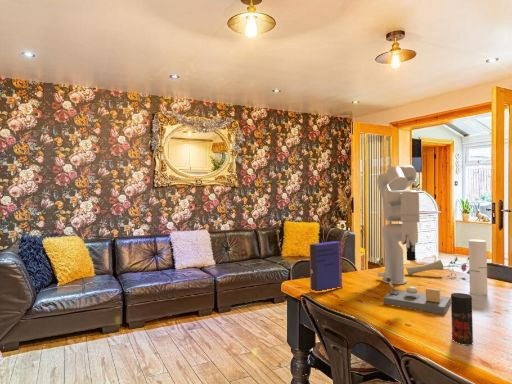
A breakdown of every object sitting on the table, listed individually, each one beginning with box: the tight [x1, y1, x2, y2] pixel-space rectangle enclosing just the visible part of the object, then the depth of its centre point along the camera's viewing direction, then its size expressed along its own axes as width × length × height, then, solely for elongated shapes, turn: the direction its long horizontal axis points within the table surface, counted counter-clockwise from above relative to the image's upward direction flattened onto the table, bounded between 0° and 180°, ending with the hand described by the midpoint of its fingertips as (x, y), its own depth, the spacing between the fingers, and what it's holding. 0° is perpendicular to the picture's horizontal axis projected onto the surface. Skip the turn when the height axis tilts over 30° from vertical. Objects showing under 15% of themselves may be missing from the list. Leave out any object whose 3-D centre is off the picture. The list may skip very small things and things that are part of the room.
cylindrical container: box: [468, 239, 488, 296], centre depth 169 cm, size 7×7×25 cm
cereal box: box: [309, 240, 343, 291], centre depth 180 cm, size 17×5×24 cm, turn 123°
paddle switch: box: [425, 287, 441, 303], centre depth 148 cm, size 5×2×5 cm, turn 53°
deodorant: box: [450, 292, 474, 345], centre depth 116 cm, size 6×6×15 cm
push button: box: [405, 285, 418, 294], centre depth 155 cm, size 4×4×2 cm
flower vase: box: [405, 256, 469, 276], centre depth 203 cm, size 12×12×35 cm
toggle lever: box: [386, 277, 395, 291], centre depth 161 cm, size 2×2×6 cm
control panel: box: [382, 288, 451, 316], centre depth 154 cm, size 24×16×4 cm, turn 53°
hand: (411, 260), depth 155 cm, fingers closed
